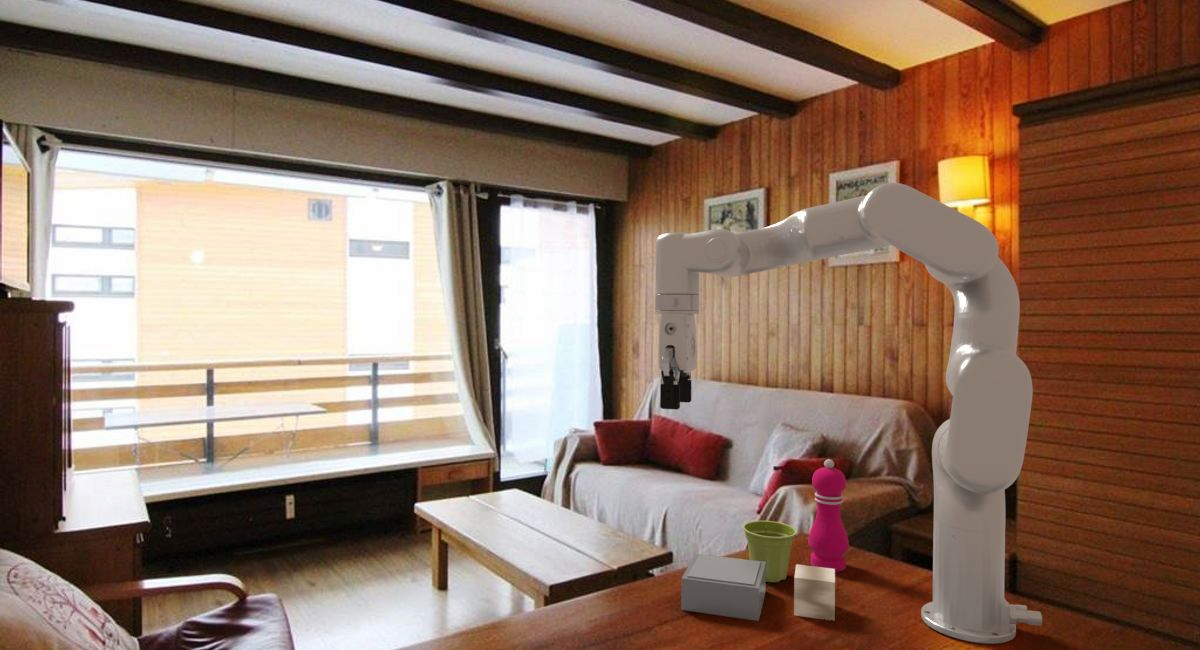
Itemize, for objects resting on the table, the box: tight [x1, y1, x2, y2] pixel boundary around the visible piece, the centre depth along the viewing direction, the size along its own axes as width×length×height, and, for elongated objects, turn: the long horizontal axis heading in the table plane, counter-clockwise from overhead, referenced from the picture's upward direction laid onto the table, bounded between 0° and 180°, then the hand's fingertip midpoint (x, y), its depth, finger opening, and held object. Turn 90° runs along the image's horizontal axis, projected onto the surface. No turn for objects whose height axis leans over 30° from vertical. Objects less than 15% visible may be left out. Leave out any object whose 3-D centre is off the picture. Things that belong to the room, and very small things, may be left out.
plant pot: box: [742, 520, 798, 583], centre depth 122 cm, size 9×9×9 cm
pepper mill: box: [807, 458, 850, 573], centre depth 127 cm, size 7×7×20 cm
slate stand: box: [680, 553, 767, 622], centre depth 112 cm, size 12×12×5 cm
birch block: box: [793, 563, 836, 622], centre depth 108 cm, size 6×6×6 cm
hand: (676, 405), depth 117 cm, fingers open, 9 cm apart
